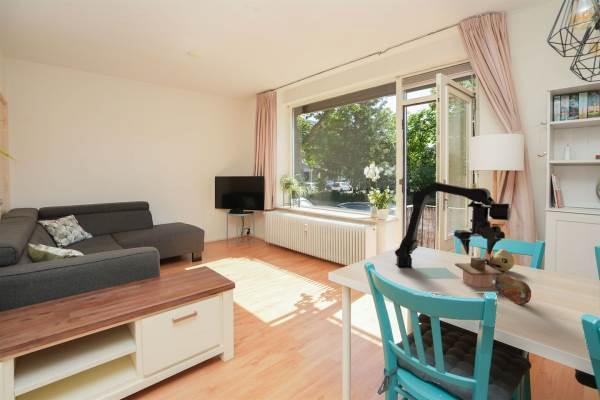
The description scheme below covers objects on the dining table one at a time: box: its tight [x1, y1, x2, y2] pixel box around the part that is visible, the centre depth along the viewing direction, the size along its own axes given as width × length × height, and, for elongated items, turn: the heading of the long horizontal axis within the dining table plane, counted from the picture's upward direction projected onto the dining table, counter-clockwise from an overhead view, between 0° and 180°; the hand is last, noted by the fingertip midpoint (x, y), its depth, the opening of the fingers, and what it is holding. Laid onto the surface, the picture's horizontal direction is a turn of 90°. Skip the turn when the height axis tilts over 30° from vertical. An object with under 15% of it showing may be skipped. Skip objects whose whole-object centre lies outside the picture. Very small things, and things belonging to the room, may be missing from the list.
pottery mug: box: [481, 257, 496, 269], centre depth 145 cm, size 12×10×8 cm
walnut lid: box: [454, 257, 504, 276], centre depth 132 cm, size 13×13×5 cm
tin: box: [494, 273, 532, 305], centre depth 116 cm, size 15×3×8 cm, turn 5°
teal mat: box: [415, 267, 462, 280], centre depth 144 cm, size 15×15×1 cm
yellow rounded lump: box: [488, 248, 515, 274], centre depth 147 cm, size 10×12×11 cm
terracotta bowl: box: [462, 270, 494, 288], centre depth 132 cm, size 11×11×6 cm
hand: (478, 253), depth 131 cm, fingers open, 9 cm apart
